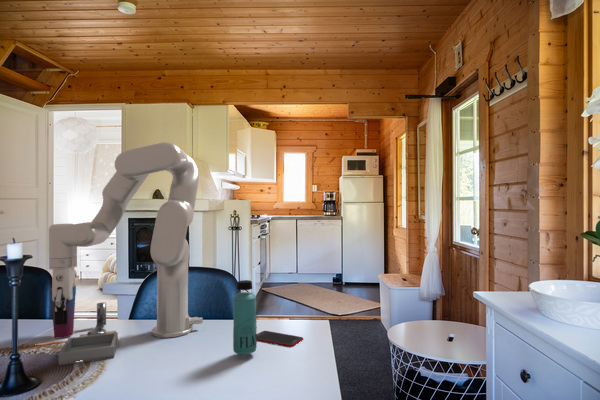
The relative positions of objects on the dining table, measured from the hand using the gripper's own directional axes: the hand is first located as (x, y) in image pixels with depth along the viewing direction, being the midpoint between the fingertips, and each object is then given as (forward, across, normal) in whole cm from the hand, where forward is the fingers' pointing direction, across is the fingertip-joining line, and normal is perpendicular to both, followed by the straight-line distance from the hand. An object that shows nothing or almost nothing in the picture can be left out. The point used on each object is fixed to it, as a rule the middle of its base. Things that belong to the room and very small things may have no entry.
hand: (63, 320), depth 118 cm
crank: (+4, 0, -10) cm, 11 cm away
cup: (+5, 0, 0) cm, 5 cm away
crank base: (+5, -6, -4) cm, 9 cm away
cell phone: (+7, -28, -61) cm, 67 cm away
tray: (+5, -19, -10) cm, 22 cm away
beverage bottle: (+6, -37, -49) cm, 61 cm away
